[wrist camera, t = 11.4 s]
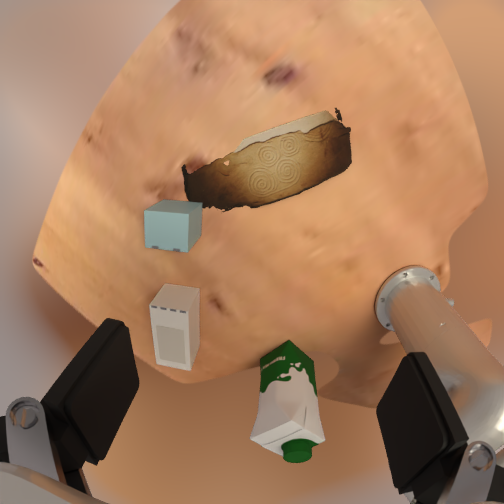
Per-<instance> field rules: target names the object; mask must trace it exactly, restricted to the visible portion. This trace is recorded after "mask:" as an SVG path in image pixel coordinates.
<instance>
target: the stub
mask: <svg viewBox="0 0 504 504" xmlns="http://www.w3.org/2000/svg"><path fill="white" fill-rule="evenodd" d="M201 225H202V203H197V202H189V201H177V200H162V201H160V202H158V203H157V204H155V205H153V206H151V207H149V208H148V209H146V210H144V226H145V247H147V248H155V249H163V250H171V251H179V252H189V251H190V249H191V248H192V247H193V245H194V244H195V243H196V241H197V240H198V239H199V238H200V236H201Z"/></svg>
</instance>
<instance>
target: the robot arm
mask: <svg viewBox="0 0 504 504" xmlns="http://www.w3.org/2000/svg"><path fill="white" fill-rule="evenodd" d="M440 291H441V289H440V283H439V280H438V278H437V277H436V275H435V274H434V273H433V272H432V271H431V270H429V269H428V268H426V267H423V266H417V265H415V266H408V267H405V268H402V269H400V270H398V271H397V272H395V273H394V274H392V275H391V276H390V277H389V278H388V279H387V280H386V281H385V283H384V284H383V285H382V287H381V288H380V290H379V292H378V295H377V298H376V303H375V311H376V315H377V318H378V320H379V322H380V323H381V324H382V326H384V327H385V328H386V329H388V330H390V331H394V332H396V334H397V336H398V338H399V340H400V342H401V344H402V346H403V348H404V350H405V352H406V354H407V356H405V357H403V359H402V361H401V363H400V365H399V367H398V369H397V371H396V373H395V375H394V377H393V379H392V380H391V382H390V384H389V386H388V388H387V390H386V391H385V393H384V395H383V397H382V399H381V400H380V402H379V404H378V406H377V410H376V414H377V418H378V422H379V425H380V429H381V433H382V437H383V441H384V445H385V449H386V453H387V457H388V462H389V467H390V470H391V474H392V479H393V484H394V486H395V488H398V491H399V494H404V495H405V496H406V497H407V499H408V500H409V502H410V504H504V448H503V449H502V450H501V451H499V452H498V453H497V454H495V451H496V450H497V449H498V448H500V447H501V446H502V445H504V366H503V365H502V364H501V363H500V362H499V361H498V360H497V359H496V358H495V357H494V356H493V355H492V354H491V353H490V352H489V350H488V349H487V348H486V347H485V346H484V344H483V343H482V342H481V341H480V340H479V339H478V337H477V336H476V335H475V334H474V332H473V331H472V330H471V329H470V328H469V326H468V325H467V324H466V323H465V322H464V320H463V319H462V318H461V317H460V316H459V315H458V313H457V312H456V311H455V310H454V309H453V308H452V306H453V305H454V300H453V299H448V298H447V299H446V298H445V297H444V296H443V295H442V294H441V292H440ZM138 388H139V377H138V373H137V368H136V364H135V360H134V354H133V349H132V344H131V338H130V333H129V328H128V327H126V326H125V324H124V322H122V321H119V320H115V319H110V318H107V319H105V320H104V322H103V323H102V324H101V325H100V326H99V328H98V329H97V330H96V331H95V333H94V334H93V335H92V336H91V337H90V338H89V340H88V341H87V342H86V343H85V345H84V346H83V347H82V348H81V349H80V351H79V352H78V353H77V355H76V356H75V357H74V358H73V360H72V361H71V362H70V363H69V364H68V366H67V367H66V369H65V370H64V371H63V372H62V373H61V375H60V376H59V378H58V379H57V380H56V381H55V383H54V384H53V385H52V387H51V388H50V389H49V391H48V392H47V393H46V395H45V396H44V398H43V399H42V400H41V402H39V401H38V400H36V399H34V398H31V397H21V398H19V399H16V400H15V401H13V402H12V403H11V404H10V405H9V406H8V409H7V411H6V416H1V417H0V504H108V503H105V502H103V501H101V500H98V499H96V498H93V497H92V494H91V492H90V489H89V487H88V484H87V481H86V479H85V476H84V473H83V470H82V466H83V464H84V462H85V461H87V462H89V463H92V464H94V465H97V464H98V462H99V460H103V459H104V458H105V457H106V455H107V452H108V450H109V448H110V446H111V444H112V442H113V440H114V438H115V436H116V433H117V431H118V429H119V427H120V425H121V423H122V421H123V419H124V417H125V415H126V413H127V411H128V409H129V407H130V405H131V403H132V400H133V399H134V397H135V394H136V393H137V390H138Z"/></svg>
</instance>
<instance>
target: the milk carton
mask: <svg viewBox="0 0 504 504" xmlns="http://www.w3.org/2000/svg"><path fill="white" fill-rule="evenodd" d="M260 368H261V384H260V395H259V396H260V397H259V406H258V415H257V418H256V421H255V424H254V427H253V430H252V433H251V436H250V439H251V440H253V441H255V442H256V443H258V444H260V445H261V446H262V447H264V448H266V449H269V450H271V451H273V452H275V453H277V454H279V455H281V456H283V459H284V460H285V461H287V462H291V463H301V462H305V461H307V460H309V459H310V458H311V457H312V447H313V446H316V445H318V444H319V443H321V442H324V441H325V436H324V432H323V428H322V424H321V420H320V416H319V408H318V399H317V390H316V382H315V372H314V361H313V360H311V358H309V357H308V356H307V355H306V354H305V353H304V352H302V351H301V350H300V349H299V348H298V347H297V346H296V345H294V344H293V343H292V342H291V341H290V340H288V341H287V342H285V343H284V344H282V345H281V346H279V347H278V348H276V349H275V350H273V351H272V352H270V353H269V354H267V355H266V356H264V357H263V358H261V359H260Z"/></svg>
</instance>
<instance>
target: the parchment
mask: <svg viewBox="0 0 504 504" xmlns="http://www.w3.org/2000/svg"><path fill="white" fill-rule="evenodd" d="M335 110H336V111H335V112H336V114H337V113H338V114H337V115H338V116H337V119H338V120H337V119H336V118H334V117H333V116H332V115H331V114H330V113H329V112H328V111H322V112H319V113H316V114H313V115H310V116H307V117H304V118H301V119H298V120H295V121H292V122H289V123H286V124H283V125H280V126H278V127H275V128H272V129H269V130H266V131H264V132H261V133H258V134H256V135H253V136H250V137H247V138H245V139H243V141H242V142H241V144H240V145H239V146H238V147H237V149H236V150H235V151H234V152H232V153H230V154H228V155H226V156H225V157H224V158H223V159H222V158H219V159H216V160H215V161H213V162H211V164H209V165H205V166H203V167H201V168H199V169H197V171H194V172H193V173H191V174H188V173H189V172H188V173H187V170H186V169H185V167H186V166H185V164H184V165H183V167H182V171H183V175H184V185H185V192H186V195H187V198H188V200H189V202H197V203H202V208H205V207H209V208H211V207H212V206H214V207H215V208H218V209H220V210H222V209H225V210H226V211H229V210H231V209H232V208H235V207H243V206H245V205H247V206H250V208H257V207H260V206H263V205H267V204H271V203H274V202H277V201H280V200H283V199H285V198H288V197H291V196H294V195H298V194H300V193H302V192H303V191H305V190H308V189H310V188H312V187H315V186H316V185H319V184H320V183H322V182H323V181H325V180H328V179H329V178H332V177H334V176H336V175H339V174H341V173H342V172H344V171H345V170H346V169H348V167H349V165H350V164H351V163H352V160H351V146H350V144H351V143H350V138H349V137H350V133H349V132H350V131H351V128H350V127H347V128H345V126H344V125H343V124H342V123H340V122H339V120H341V122H342V117H341V114H340V110H337V108H335ZM227 160H229V161H230V162H229V165H228V166H226V165H225V164H223V163H224V162H225V161H227ZM232 206H233V207H232ZM218 209H217V210H218ZM223 212H225V211H223Z"/></svg>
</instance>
